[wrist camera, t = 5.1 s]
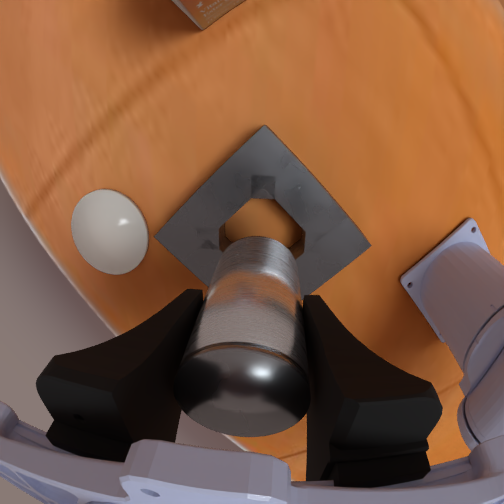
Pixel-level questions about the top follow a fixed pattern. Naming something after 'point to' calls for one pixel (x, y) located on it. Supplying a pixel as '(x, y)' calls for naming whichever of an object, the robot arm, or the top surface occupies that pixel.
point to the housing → (265, 187)
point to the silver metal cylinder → (248, 345)
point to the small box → (206, 10)
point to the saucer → (110, 231)
